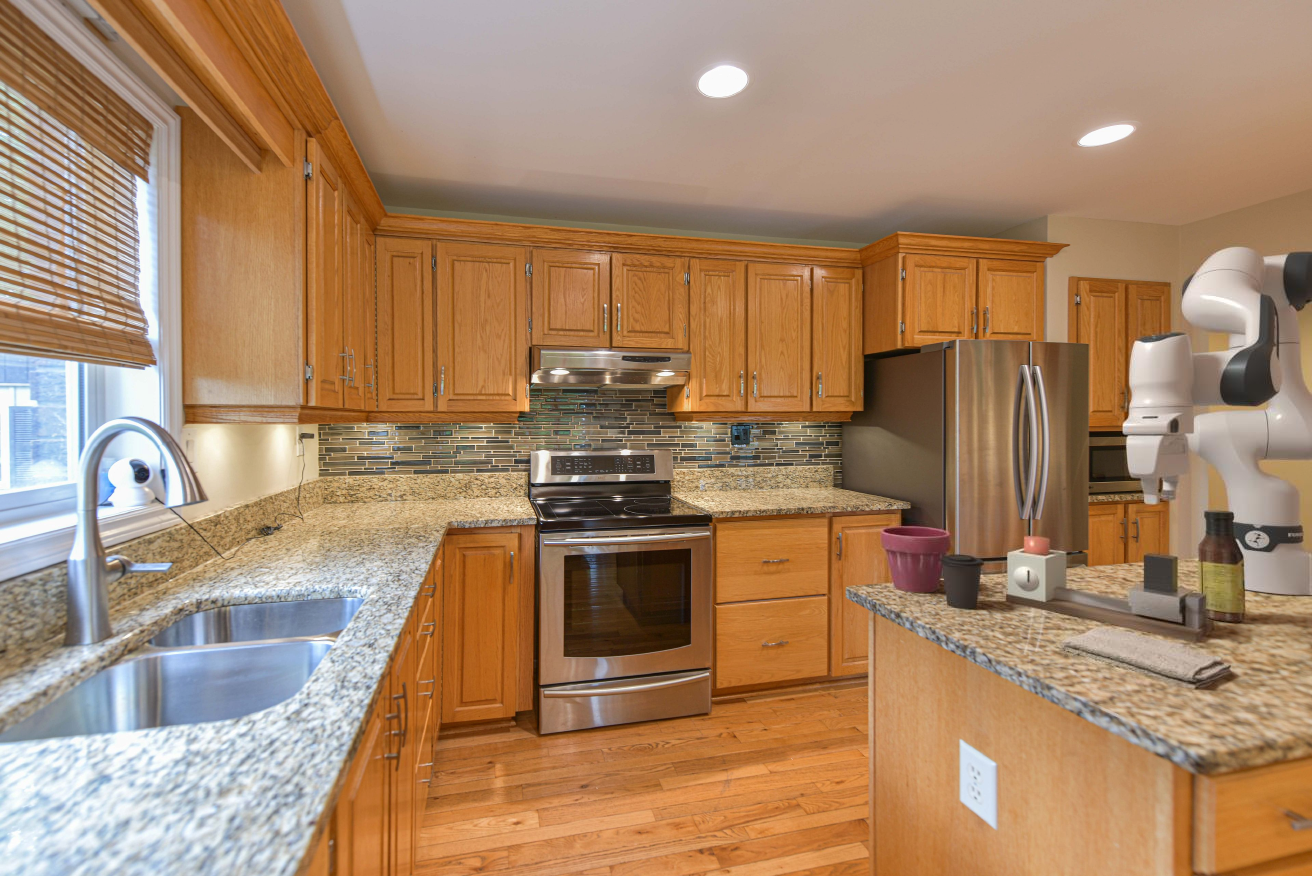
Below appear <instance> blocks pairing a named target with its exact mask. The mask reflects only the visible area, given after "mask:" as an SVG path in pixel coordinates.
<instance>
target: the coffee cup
mask: <svg viewBox="0 0 1312 876" xmlns="http://www.w3.org/2000/svg"><path fill="white" fill-rule="evenodd" d="M939 560H940V561H941V562H942V567H943V569H942V573H943V582H944V591H945V598H946V605H947V606H949V607H951V608H955V609H960V610H975V609H976V608H977V607H978V600H979V591H980V582H981V576H982V575H981V574H982V567H983V566H985V563H984V561H983V560H982V559H980V558H977V557H975V556H972V555H968V554H958V553H957V554H956V553H955V554H948V555H945V556H943V557H941V559H939Z"/></svg>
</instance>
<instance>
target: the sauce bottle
mask: <svg viewBox="0 0 1312 876" xmlns="http://www.w3.org/2000/svg"><path fill="white" fill-rule="evenodd" d="M1203 516H1204V519H1205V535H1204V538H1202V540H1200V543H1199V544H1198V548H1197V549H1198V560H1197V571H1198V572H1197V573H1198V593H1200V594H1206V619H1209V620H1214V621H1219V622H1226V623H1227V622H1228V623H1229V622H1230V623H1240V622H1244V621H1245V613H1246V610H1247V609H1246V589H1245V582H1244V580H1245V578H1244V556H1243V554H1242V552H1241V550H1240V548H1239V545H1238V543H1237V541H1236V539H1235V537H1234V532H1233V520H1234V513H1233V512H1231V511H1228V510H1214V509H1211V510H1210V509H1208V510H1204V513H1203Z"/></svg>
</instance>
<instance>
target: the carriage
mask: <svg viewBox="0 0 1312 876" xmlns="http://www.w3.org/2000/svg"><path fill="white" fill-rule="evenodd" d="M1178 558H1179V557H1178V556H1174V555H1169V554H1168V555H1167V554H1161V553H1160V554H1159V553H1151V552H1149V553H1146V554H1144V555H1143V582H1141V583H1138V584H1136V585H1134V586H1132V587H1130V588H1128V600H1129V606H1132V613H1135V614H1140V615H1145V616H1150V617H1155V618H1160V619H1165V620H1170V621H1175V622H1180V623H1183V622H1184V612H1185V611H1186V597H1187V596H1189V595H1191V594H1193V593H1194V589H1189V588H1185V587H1184V588H1182V587H1178V583H1179V582H1178V581H1179V579H1178V577H1179V576H1178V573H1179V572H1178V571H1179V570H1178V569H1179V567H1178V565H1179V562H1178V560H1179V559H1178Z"/></svg>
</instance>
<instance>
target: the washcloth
mask: <svg viewBox="0 0 1312 876" xmlns="http://www.w3.org/2000/svg"><path fill="white" fill-rule="evenodd" d="M1060 647H1061V650H1063V651H1064V650H1065V652H1066V651H1069V652H1068V653H1070V652H1072V653H1071V654H1073V653H1076V654H1079V655H1078V656H1080V655H1083V656H1086V657H1089V658H1088V659H1090V658H1092V659H1091V660H1093V659H1095V660H1094V661H1097V660H1099V661H1098V662H1100V661H1102V662H1101V663H1103V662H1105V663H1104V664H1106V663H1108V664H1107V665H1110V664H1113V665H1115V666H1114V667H1116V666H1118V667H1117V668H1120V667H1123V668H1122V669H1124V668H1125V669H1124V670H1127V669H1129V670H1128V671H1130V670H1132V671H1131V672H1134V671H1135V673H1137V672H1138V674H1140V673H1141V674H1140V675H1144V674H1145V676H1147V677H1152V678H1154V679H1156V680H1157V679H1159V680H1161V681H1164V682H1167V683H1171V684H1173V683H1174V684H1173V685H1178V686H1181V687H1183V688H1186V689H1190V690H1193V691H1194V690H1196V688H1198V689H1199V688H1205V687H1207V686H1209V685H1212V684H1213V683H1214V682H1217V681H1218V680H1222V679H1224V678H1226V677H1227V676H1229V675H1230V674H1231V672H1232V670H1231V667H1232V666H1231V664H1229V663H1228V662H1227V663H1226V662H1223V661H1222V657H1220V656H1218V655H1217V656H1216V655H1211V654H1206V653H1204V652H1203V653H1202V652H1201V651H1197V650H1195V649H1191V648H1189V647H1187V646H1186V645H1185V644H1184V643H1179V642H1172V641H1166V640H1161V639H1158V638H1157V639H1156V638H1154V637H1150V636H1147V635H1145V634H1143V635H1142V634H1139V633H1135V632H1131V631H1130V632H1129V631H1125V630H1120V629H1116V628H1113V627H1110V626H1099V627H1093V628H1092V629H1089V630H1087V631H1086V632H1084V633H1083V634H1077V635H1074V636H1071V637H1069V638H1068V637H1067V638H1066V639H1063V640H1062V641H1061V644H1060ZM1076 654H1075V655H1076ZM1083 656H1082V657H1083ZM1086 657H1085V658H1086ZM1113 665H1112V666H1113Z"/></svg>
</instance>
